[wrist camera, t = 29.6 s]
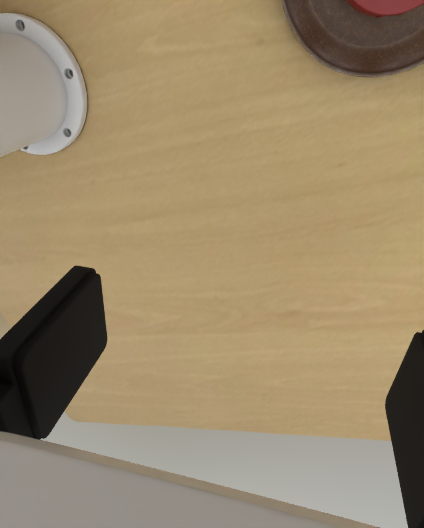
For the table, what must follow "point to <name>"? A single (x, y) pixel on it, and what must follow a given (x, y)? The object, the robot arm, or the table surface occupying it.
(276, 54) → the table surface
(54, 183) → the table surface
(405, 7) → the lid
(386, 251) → the table surface
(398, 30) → the saucer
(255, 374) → the table surface
